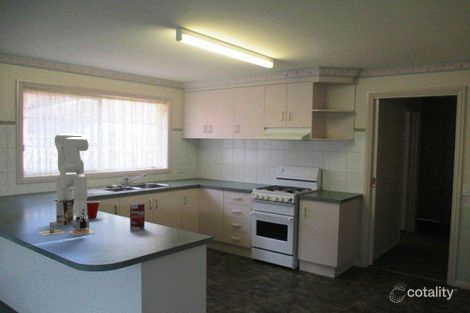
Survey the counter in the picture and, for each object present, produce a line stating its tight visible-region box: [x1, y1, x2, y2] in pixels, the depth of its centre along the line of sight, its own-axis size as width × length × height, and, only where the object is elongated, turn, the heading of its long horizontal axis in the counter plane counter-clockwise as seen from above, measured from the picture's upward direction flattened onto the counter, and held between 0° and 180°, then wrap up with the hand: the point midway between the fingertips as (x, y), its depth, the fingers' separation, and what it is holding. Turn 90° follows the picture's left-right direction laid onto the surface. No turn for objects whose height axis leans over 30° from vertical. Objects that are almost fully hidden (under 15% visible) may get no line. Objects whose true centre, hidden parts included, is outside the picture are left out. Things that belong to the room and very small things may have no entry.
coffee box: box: [55, 199, 75, 226], centre depth 237 cm, size 9×6×16 cm
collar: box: [72, 218, 90, 230], centre depth 215 cm, size 7×7×4 cm
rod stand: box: [38, 221, 67, 237], centre depth 214 cm, size 12×12×7 cm
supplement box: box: [129, 202, 146, 232], centre depth 224 cm, size 9×5×16 cm, turn 105°
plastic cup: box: [86, 200, 101, 220], centre depth 261 cm, size 11×11×12 cm
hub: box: [66, 220, 96, 238], centre depth 215 cm, size 12×12×8 cm
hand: (81, 226), depth 215 cm, fingers closed on collar, 6 cm apart
